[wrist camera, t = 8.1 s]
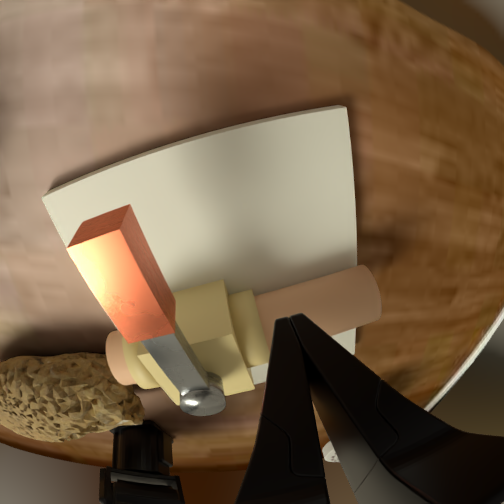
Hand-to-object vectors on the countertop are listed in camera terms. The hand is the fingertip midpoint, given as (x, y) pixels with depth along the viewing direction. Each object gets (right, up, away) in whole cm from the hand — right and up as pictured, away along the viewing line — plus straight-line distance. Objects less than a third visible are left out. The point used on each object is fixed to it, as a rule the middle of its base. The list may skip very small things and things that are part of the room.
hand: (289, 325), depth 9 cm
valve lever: (-5, -1, +5) cm, 8 cm away
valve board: (-2, -1, +13) cm, 13 cm away
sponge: (-21, -11, +16) cm, 29 cm away
